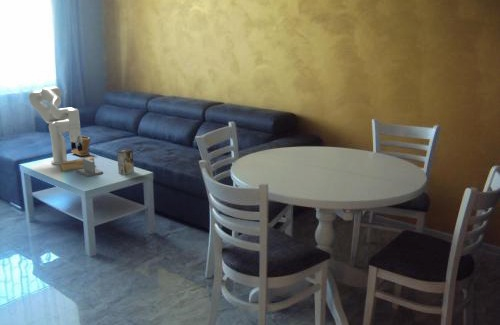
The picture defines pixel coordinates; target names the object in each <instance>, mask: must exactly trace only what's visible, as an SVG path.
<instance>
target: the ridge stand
mask: <svg viewBox="0 0 500 325" xmlns="http://www.w3.org/2000/svg"><path fill="white" fill-rule="evenodd" d="M95 164H96V163H95V160H94V161H92V160H90V159H87V157H83V166H84V168H80V169H75V172H76V173H77V174H80V175H82V176H84V177H87V178H89V177H94V176H98V175H103V174H104V171H103V170H100V169H98V168H96V166H95Z"/></svg>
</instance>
